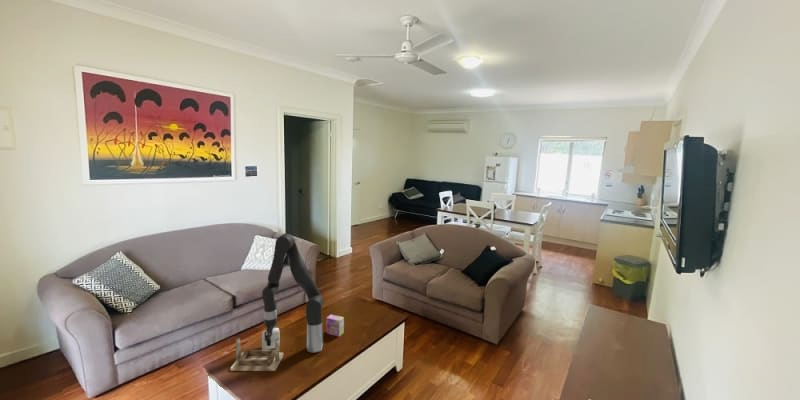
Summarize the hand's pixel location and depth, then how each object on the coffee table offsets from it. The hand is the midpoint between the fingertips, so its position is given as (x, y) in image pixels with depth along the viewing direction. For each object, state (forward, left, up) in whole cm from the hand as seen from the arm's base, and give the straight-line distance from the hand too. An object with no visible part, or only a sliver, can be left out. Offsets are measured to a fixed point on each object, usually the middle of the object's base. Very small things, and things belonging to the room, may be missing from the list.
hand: (270, 342), depth 200 cm
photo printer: (0, 0, -4) cm, 4 cm away
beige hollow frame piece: (+2, +15, -3) cm, 16 cm away
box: (-37, -17, -4) cm, 41 cm away
